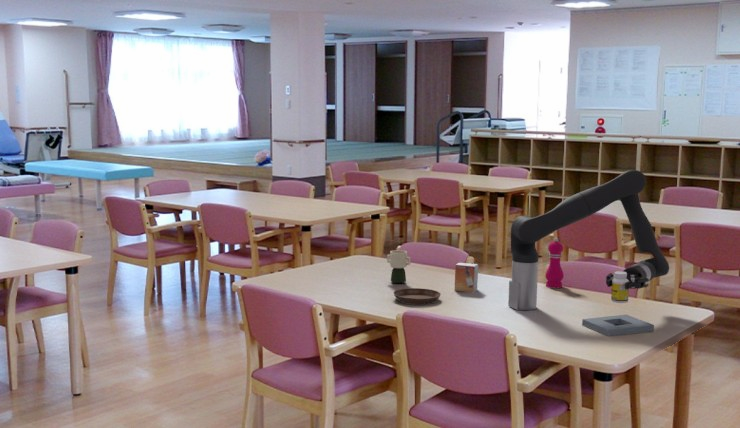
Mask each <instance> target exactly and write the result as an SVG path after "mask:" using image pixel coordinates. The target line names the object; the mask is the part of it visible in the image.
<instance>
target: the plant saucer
mask: <svg viewBox="0 0 740 428" xmlns="http://www.w3.org/2000/svg"><path fill="white" fill-rule="evenodd" d="M393 295H394V297H395V298H396V300H397V301H398V302H400V303H403V304H406V305H419V306H420V305H430V304H434V303H436V301H438V299H439V298H440V297H441V295H442V294H441V292H440V291H437V290H433V289H428V288H419V287H418V288H416V287H415V288H414V287H413V288H401V289H396V290H394V291H393Z"/></svg>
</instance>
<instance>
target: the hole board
mask: <svg viewBox="0 0 740 428" xmlns="http://www.w3.org/2000/svg"><path fill="white" fill-rule="evenodd" d="M581 321H582V322H581V323H582V324H581V325H582V326H584V327H586V328H589V329H590V330H593V331H596V332H598V333H600V334H602V335H605V336H606V337H614V336H622V335H632V334H637V333H638V334H639V333H640V334H641V333H646V332H647V333H648V332H654V331H655V324H653V323H650V322H648V321H644V320H643V319H639V318H637V317H634V316H631V315H629V314H618V315H610V316H601V317H591V318H590V317H589V318H582V320H581Z"/></svg>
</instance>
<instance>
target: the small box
mask: <svg viewBox="0 0 740 428" xmlns="http://www.w3.org/2000/svg"><path fill="white" fill-rule="evenodd" d="M454 270H455V271H454V291H456V292H457V291H458V292H459V291H460V292H466V293H472V292H474V293H475V292H476V291H477V290H478V277H479V264H478V263H470V262H469V263H468V262H467V263H465V262H457V263H456V264H455V269H454Z"/></svg>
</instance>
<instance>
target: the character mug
mask: <svg viewBox="0 0 740 428" xmlns="http://www.w3.org/2000/svg"><path fill="white" fill-rule="evenodd" d="M411 261H412V260H411V257H410V256H408V251H407V250H401V249H396V250H390V251H389V254H387V255H386V262H387V263H389V266H390V268H392V269H391V275H390V281H391V283H394V284H402V283H406V282H407V277H406V276H407V274H406V270H405V268H407V266H410V265H411ZM401 282H402V283H401Z"/></svg>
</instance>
